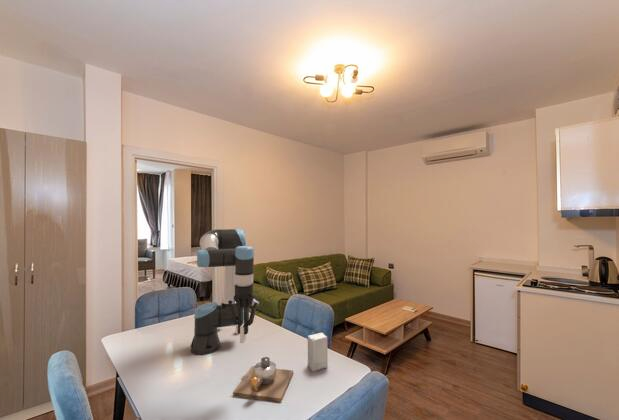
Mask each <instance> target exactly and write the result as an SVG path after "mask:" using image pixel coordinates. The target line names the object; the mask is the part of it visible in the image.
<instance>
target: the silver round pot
mask: <svg viewBox="0 0 619 420" xmlns="http://www.w3.org/2000/svg"><path fill="white" fill-rule="evenodd" d="M260 359H261V360H260V361H259V362H257V363H256V364H255V365H254V366H255V376H252V377H251V391H253V392H255V391H257V390H258V387H259V385H260V384H261V383H262V382H267V381H271V380H273V379H274V378H275V377H276V369H277V365H276V363H275V362H274V361H272V360H271V359H270V357H268V356H264V357H262V358H260Z"/></svg>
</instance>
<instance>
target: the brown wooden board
mask: <svg viewBox="0 0 619 420" xmlns="http://www.w3.org/2000/svg"><path fill="white" fill-rule="evenodd" d="M252 376H255V365H252V366H251V367H250V368H249V370H248V371H247V372H246V373H245V375H243V376H242V378H241V379H240V380H241V381H240V382H239V383H238V385H237V386H236V388H234V391H233V392H232V397H235V398H237V397H238V398H245V399H253V400H260V401H268V402H275V403H282V402H283V399H284V396H285V394H286V392H287V389H288V388H289V384H290V383H291V380H292V378H293V376H294V370H291V369H283V368H276V377H275V378H274V379H273V380H271V381H267V382H262V383H261V384H260V385H259V387H258V390H257V391H255V392H253V391H251V377H252Z"/></svg>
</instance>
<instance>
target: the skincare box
mask: <svg viewBox="0 0 619 420" xmlns="http://www.w3.org/2000/svg"><path fill="white" fill-rule="evenodd" d="M328 360H329V359H328V336H327V335H325V334H324V333H323V332H318V333H315V334H310V335H307V366H308V367H309V369H310V370H311V371H312V372H315V371H319V370H322V369H325V368H328V365H329V364H328Z"/></svg>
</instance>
